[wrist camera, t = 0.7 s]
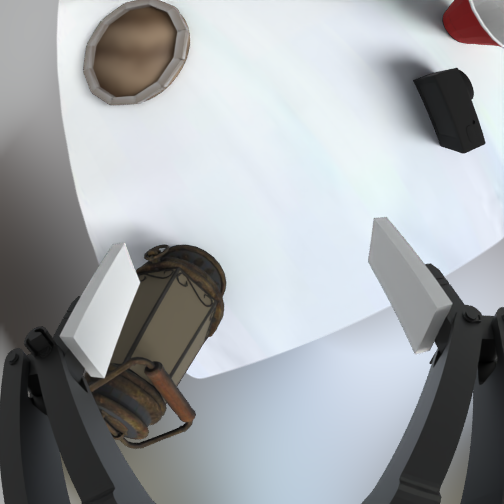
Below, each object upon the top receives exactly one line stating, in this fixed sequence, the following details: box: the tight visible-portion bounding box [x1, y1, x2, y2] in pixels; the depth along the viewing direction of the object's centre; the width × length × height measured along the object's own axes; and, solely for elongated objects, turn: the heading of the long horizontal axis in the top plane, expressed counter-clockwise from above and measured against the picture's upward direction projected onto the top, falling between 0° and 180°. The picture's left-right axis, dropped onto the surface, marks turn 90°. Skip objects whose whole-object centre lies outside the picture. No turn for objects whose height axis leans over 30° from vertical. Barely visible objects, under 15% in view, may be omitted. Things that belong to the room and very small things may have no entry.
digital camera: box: [413, 68, 485, 153], centre depth 26 cm, size 10×5×7 cm, turn 30°
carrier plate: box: [83, 0, 190, 105], centre depth 31 cm, size 17×17×2 cm
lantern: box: [84, 245, 226, 449], centre depth 35 cm, size 18×15×30 cm
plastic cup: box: [443, 0, 504, 48], centre depth 17 cm, size 11×11×12 cm
